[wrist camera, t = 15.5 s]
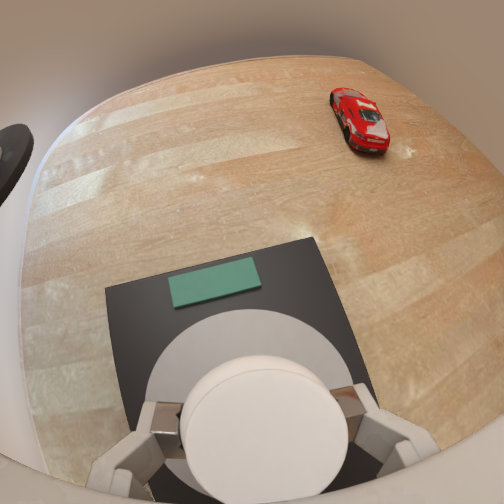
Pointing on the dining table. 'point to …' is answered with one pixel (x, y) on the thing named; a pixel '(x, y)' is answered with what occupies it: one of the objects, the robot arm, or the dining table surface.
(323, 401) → the pill bottle
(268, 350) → the scale
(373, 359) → the dining table surface
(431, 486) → the robot arm
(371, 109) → the race car
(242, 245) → the dining table surface
